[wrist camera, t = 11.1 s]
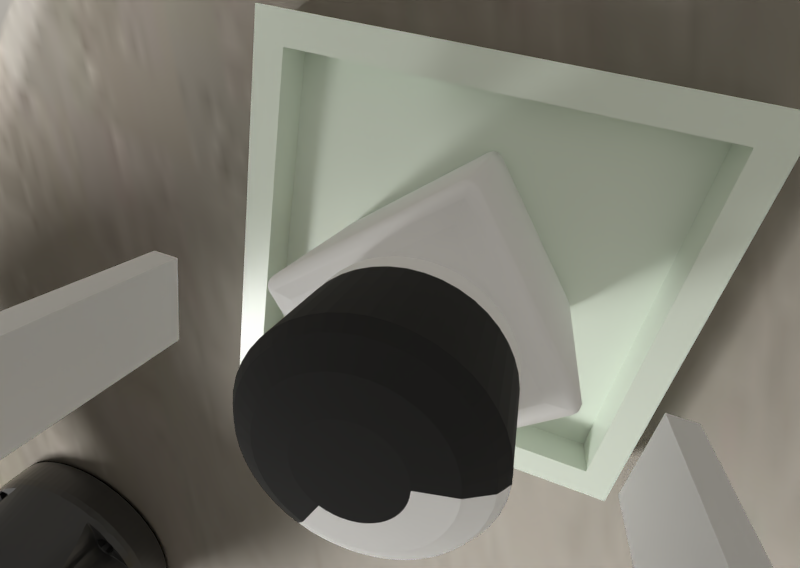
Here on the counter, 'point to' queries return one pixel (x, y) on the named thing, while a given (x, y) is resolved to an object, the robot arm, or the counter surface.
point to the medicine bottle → (409, 368)
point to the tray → (537, 185)
